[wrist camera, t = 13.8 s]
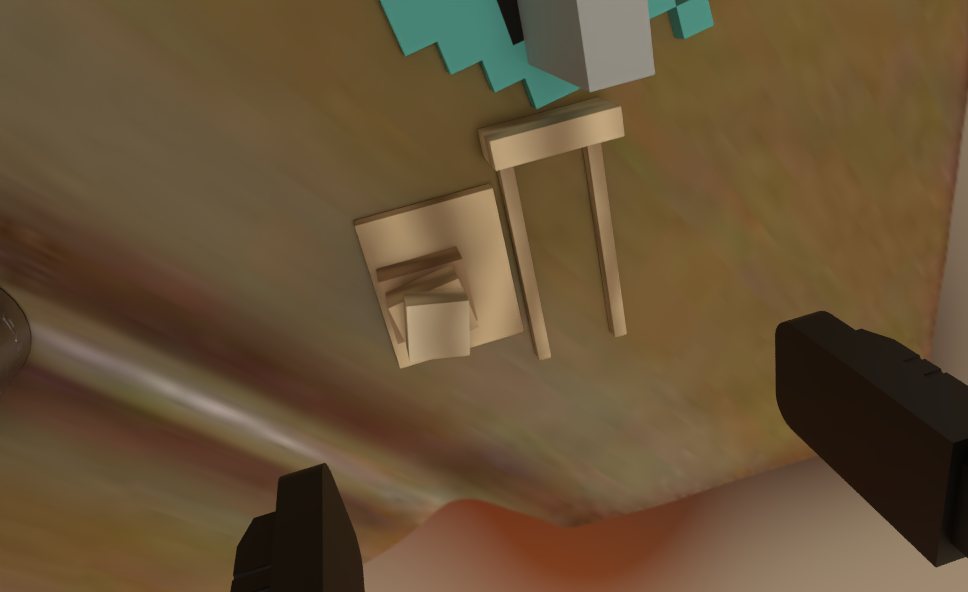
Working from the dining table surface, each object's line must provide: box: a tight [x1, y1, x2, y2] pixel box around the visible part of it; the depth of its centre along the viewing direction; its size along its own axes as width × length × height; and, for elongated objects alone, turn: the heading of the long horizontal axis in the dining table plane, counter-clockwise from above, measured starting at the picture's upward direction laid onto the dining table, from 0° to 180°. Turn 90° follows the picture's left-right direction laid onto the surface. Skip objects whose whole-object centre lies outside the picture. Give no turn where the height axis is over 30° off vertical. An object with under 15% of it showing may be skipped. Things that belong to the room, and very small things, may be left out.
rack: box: [354, 97, 627, 368], centre depth 50 cm, size 19×19×4 cm
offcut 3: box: [403, 288, 470, 362], centre depth 45 cm, size 4×4×2 cm
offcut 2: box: [385, 264, 479, 343], centre depth 47 cm, size 5×4×2 cm
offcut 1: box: [376, 247, 478, 344], centre depth 49 cm, size 6×5×2 cm
